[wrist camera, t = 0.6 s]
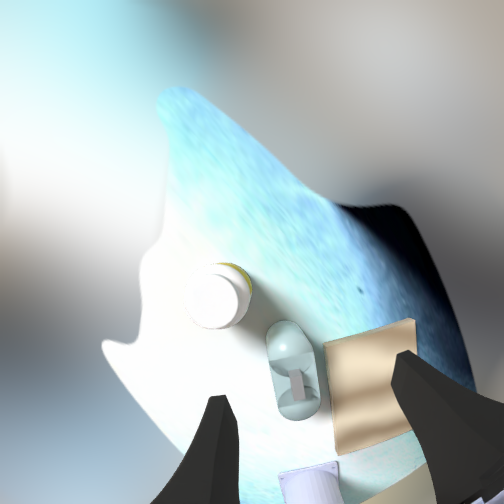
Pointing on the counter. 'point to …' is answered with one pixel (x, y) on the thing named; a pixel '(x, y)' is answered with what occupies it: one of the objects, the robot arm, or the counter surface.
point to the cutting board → (367, 385)
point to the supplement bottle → (218, 295)
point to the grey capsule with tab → (293, 371)
